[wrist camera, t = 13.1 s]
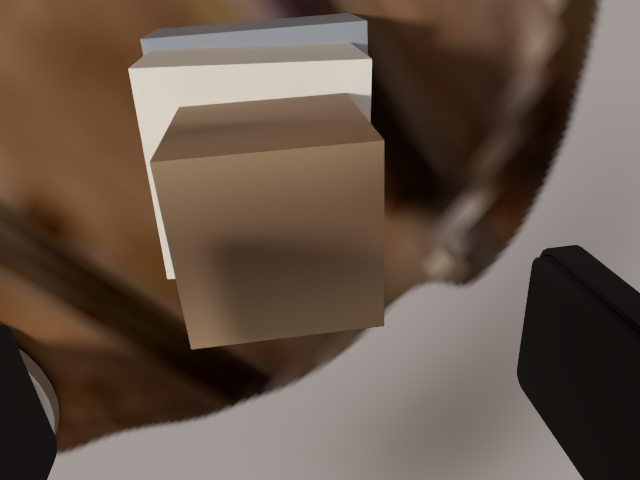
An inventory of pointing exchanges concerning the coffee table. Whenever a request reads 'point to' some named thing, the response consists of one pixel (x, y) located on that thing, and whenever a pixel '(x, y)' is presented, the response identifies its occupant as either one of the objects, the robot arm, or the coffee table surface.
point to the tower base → (263, 33)
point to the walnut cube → (273, 218)
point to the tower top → (238, 86)
